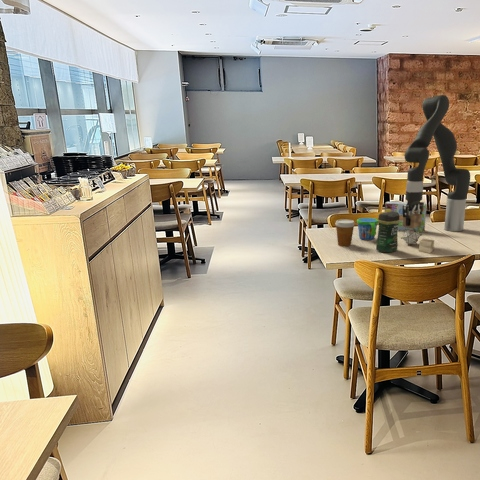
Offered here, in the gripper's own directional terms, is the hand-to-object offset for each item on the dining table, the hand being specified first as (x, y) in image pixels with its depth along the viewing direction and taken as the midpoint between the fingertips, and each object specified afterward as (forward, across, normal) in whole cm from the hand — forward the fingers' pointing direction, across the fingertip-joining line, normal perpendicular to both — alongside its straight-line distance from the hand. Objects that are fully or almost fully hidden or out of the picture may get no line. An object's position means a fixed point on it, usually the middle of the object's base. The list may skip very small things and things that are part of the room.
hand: (411, 224), depth 210 cm
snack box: (+10, -23, -20) cm, 32 cm away
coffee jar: (+10, +17, -1) cm, 20 cm away
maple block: (+10, +4, +11) cm, 16 cm away
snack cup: (+10, +7, -21) cm, 24 cm away
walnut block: (+1, 0, 0) cm, 1 cm away
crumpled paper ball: (+10, 0, 0) cm, 10 cm away
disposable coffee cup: (+10, +24, -21) cm, 34 cm away
